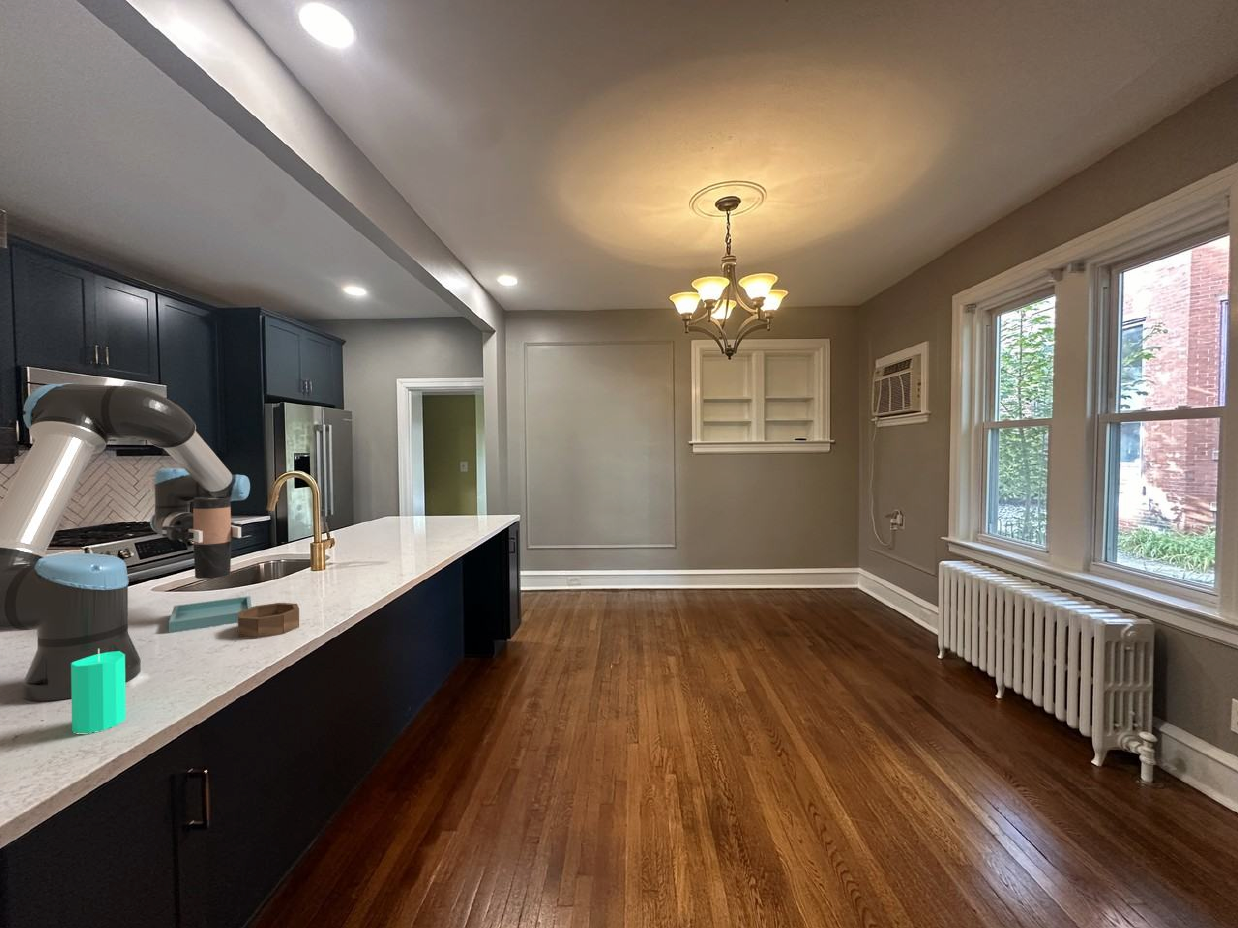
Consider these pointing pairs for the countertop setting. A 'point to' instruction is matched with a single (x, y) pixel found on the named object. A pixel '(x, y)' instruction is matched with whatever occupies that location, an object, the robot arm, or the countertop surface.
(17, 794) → the countertop surface
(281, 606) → the walnut collar
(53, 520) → the robot arm
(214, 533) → the travel mug
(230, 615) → the slate tray
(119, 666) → the candle
